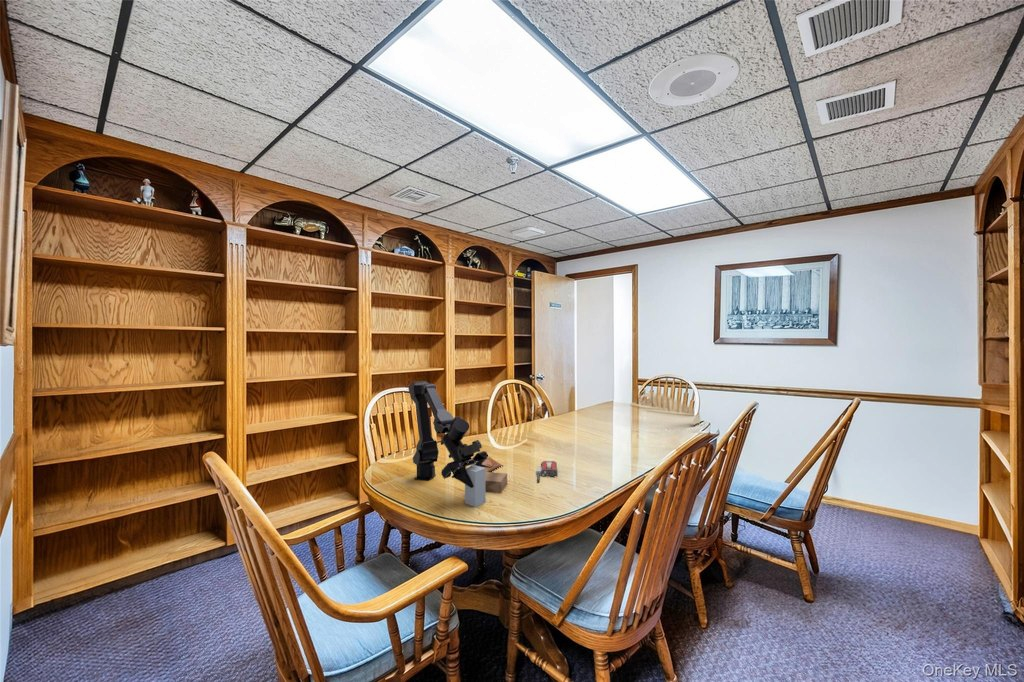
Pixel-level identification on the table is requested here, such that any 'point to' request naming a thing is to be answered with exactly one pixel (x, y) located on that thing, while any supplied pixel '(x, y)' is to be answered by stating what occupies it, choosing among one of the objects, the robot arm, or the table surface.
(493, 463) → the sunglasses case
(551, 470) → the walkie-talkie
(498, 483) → the walnut base
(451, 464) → the robot arm
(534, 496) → the table surface
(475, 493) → the slate block
